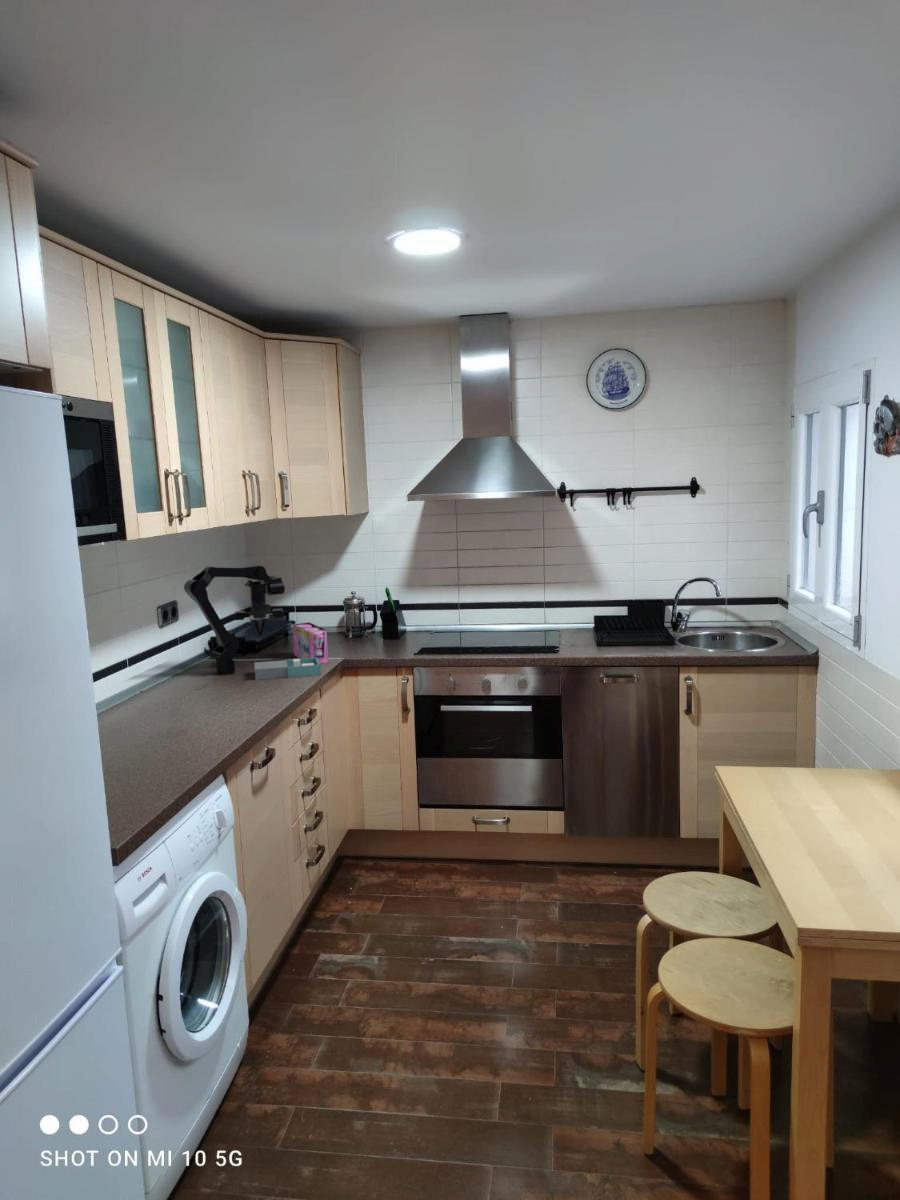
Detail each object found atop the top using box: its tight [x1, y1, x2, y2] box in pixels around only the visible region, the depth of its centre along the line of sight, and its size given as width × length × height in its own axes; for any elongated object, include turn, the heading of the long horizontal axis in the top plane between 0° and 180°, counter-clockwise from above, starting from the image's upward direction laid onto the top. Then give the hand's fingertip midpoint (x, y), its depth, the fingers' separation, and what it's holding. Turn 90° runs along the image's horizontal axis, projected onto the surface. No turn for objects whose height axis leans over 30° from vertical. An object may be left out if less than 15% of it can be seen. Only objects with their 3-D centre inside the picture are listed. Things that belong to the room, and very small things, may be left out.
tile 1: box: [292, 658, 301, 667], centre depth 299 cm, size 4×4×2 cm
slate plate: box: [254, 659, 288, 681], centre depth 297 cm, size 12×12×4 cm
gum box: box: [292, 622, 329, 665], centre depth 322 cm, size 24×8×14 cm, turn 28°
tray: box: [285, 657, 322, 679], centre depth 300 cm, size 12×14×4 cm
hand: (260, 635), depth 310 cm, fingers closed
